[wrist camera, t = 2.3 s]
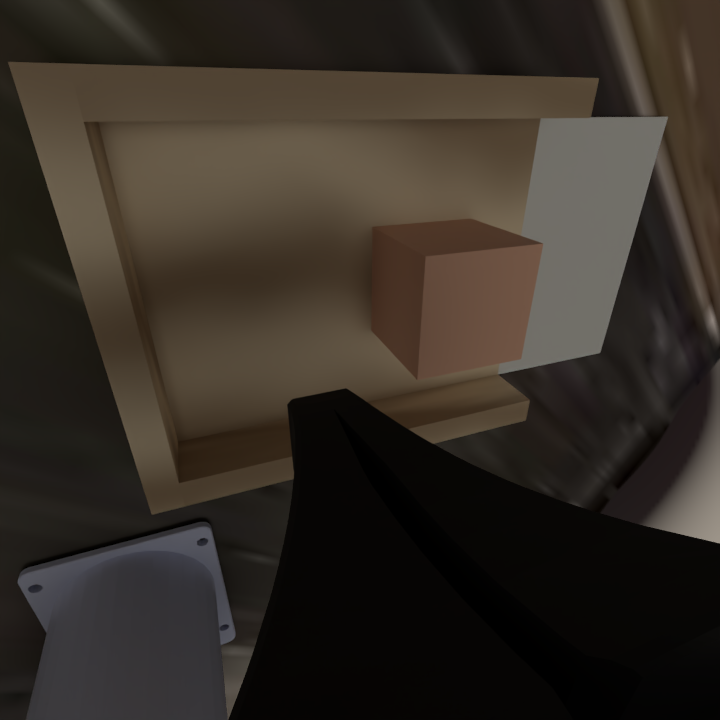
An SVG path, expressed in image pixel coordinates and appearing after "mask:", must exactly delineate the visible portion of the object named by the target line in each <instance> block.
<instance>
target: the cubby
mask: <svg viewBox="0 0 720 720" xmlns="http://www.w3.org/2000/svg"><path fill="white" fill-rule="evenodd" d="M8 63H9V66H10V70H11V73H12V76H13V79H14V82H15V85H16V89H17V92H18V95H19V98H20V101H21V104H22V107H23V111H24V114H25V117H26V120H27V123H28V126H29V129H30V133H31V136H32V139H33V142H34V145H35V148H36V152H37V155H38V158H39V161H40V164H41V167H42V170H43V174H44V177H45V180H46V183H47V186H48V189H49V193H50V196H51V199H52V202H53V205H54V208H55V211H56V215H57V218H58V221H59V224H60V227H61V230H62V233H63V237H64V240H65V243H66V246H67V249H68V252H69V256H70V259H71V262H72V265H73V268H74V271H75V274H76V278H77V281H78V284H79V287H80V290H81V293H82V296H83V300H84V303H85V306H86V309H87V312H88V315H89V319H90V322H91V325H92V328H93V331H94V334H95V337H96V341H97V344H98V347H99V350H100V353H101V356H102V360H103V363H104V366H105V369H106V372H107V375H108V378H109V382H110V385H111V388H112V391H113V394H114V397H115V400H116V404H117V407H118V410H119V413H120V416H121V419H122V423H123V426H124V429H125V432H126V435H127V438H128V441H129V445H130V448H131V451H132V454H133V457H134V460H135V464H136V467H137V470H138V473H139V476H140V479H141V482H142V486H143V489H144V492H145V495H146V498H147V501H148V504H149V508H150V511H151V514H152V515H153V514H157V513H161V512H165V511H169V510H173V509H177V508H181V507H185V506H188V505H192V504H196V503H200V502H204V501H208V500H212V499H216V498H220V497H224V496H228V495H232V494H236V493H240V492H244V491H248V490H252V489H256V488H260V487H264V486H268V485H272V484H275V483H279V482H283V481H287V480H291V479H294V470H293V460H292V450H291V439H290V429H289V419H288V409H287V404H288V403H289V402H290V401H291V400H292V399H294V398H299V397H305V396H310V395H315V394H320V393H325V392H330V391H335V390H340V389H345V388H347V389H348V390H350V391H352V392H353V393H355V394H356V395H358V396H359V397H360V398H362V399H363V400H365V401H366V402H368V403H369V404H371V405H372V406H374V407H375V408H377V409H378V410H380V411H381V412H383V413H384V414H385V415H387V416H389V417H390V418H392V419H393V420H395V421H396V422H398V423H399V424H401V425H402V426H404V427H406V428H407V429H409V430H410V431H412V432H414V433H415V434H417V435H419V436H420V437H422V438H424V439H425V440H427V441H429V442H431V443H432V444H434V443H438V442H442V441H446V440H450V439H453V438H457V437H461V436H465V435H469V434H473V433H477V432H481V431H485V430H489V429H493V428H497V427H501V426H505V425H509V424H513V423H517V422H521V421H525V420H526V416H527V411H528V407H529V402H530V400H529V399H528V398H527V397H525V396H524V395H523V394H522V393H520V392H519V391H518V390H517V389H515V388H514V387H513V386H512V385H510V384H509V383H508V382H507V381H505V380H504V379H503V378H502V377H500V376H499V375H498V370H499V364H495V365H490V366H485V367H480V368H475V369H470V370H465V371H460V372H455V373H450V374H445V375H440V376H435V377H430V378H426V379H421V380H417V379H416V378H415V377H414V376H413V375H412V374H411V373H410V372H409V371H408V370H407V369H406V367H405V366H404V365H403V364H402V363H401V362H400V361H399V360H398V359H397V358H396V357H395V356H394V355H393V353H392V352H391V351H390V350H389V349H388V348H387V347H386V346H385V345H384V344H383V343H382V342H381V340H380V339H379V338H378V337H377V336H376V335H375V334H374V333H373V332H372V331H371V316H372V227H376V226H388V225H400V224H412V223H424V222H435V221H447V220H459V219H474V220H477V221H480V222H483V223H486V224H488V225H491V226H494V227H497V228H500V229H503V230H506V231H509V232H512V233H514V234H517V235H520V236H521V233H522V227H523V221H524V215H525V209H526V203H527V197H528V191H529V185H530V179H531V173H532V167H533V161H534V156H535V150H536V144H537V138H538V132H539V126H540V120H541V118H591V114H592V109H593V104H594V100H595V95H596V90H597V86H598V81H599V78H573V77H537V76H501V75H464V74H428V73H391V72H355V71H318V70H282V69H246V68H209V67H173V66H136V65H100V64H64V63H27V62H8Z"/></svg>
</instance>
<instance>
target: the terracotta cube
mask: <svg viewBox="0 0 720 720" xmlns="http://www.w3.org/2000/svg"><path fill="white" fill-rule="evenodd" d="M542 248H543V243H540V242H538V241H535V240H532V239H529V238H526V237H523V236H520V235H517V234H514V233H512V232H509V231H506V230H503V229H500V228H497V227H494V226H491V225H488V224H486V223H483V222H480V221H477V220H474V219H459V220H447V221H435V222H424V223H412V224H400V225H388V226H376V227H372V316H371V331H372V332H373V333H374V334H375V335H376V336H377V337H378V338H379V339H380V340H381V342H382V343H383V344H384V345H385V346H386V347H387V348H388V349H389V350H390V351H391V352H392V353H393V355H394V356H395V357H396V358H397V359H398V360H399V361H400V362H401V363H402V364H403V365H404V366H405V367H406V369H407V370H408V371H409V372H410V373H411V374H412V375H413V376H414V377H415V378H416V379H417V380H421V379H426V378H430V377H435V376H440V375H445V374H450V373H455V372H460V371H465V370H470V369H475V368H480V367H485V366H490V365H495V364H500V363H505V362H510V361H514V360H519V359H521V357H522V352H523V347H524V342H525V336H526V331H527V326H528V321H529V316H530V311H531V305H532V300H533V295H534V290H535V285H536V280H537V274H538V269H539V264H540V259H541V254H542Z"/></svg>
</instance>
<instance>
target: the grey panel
mask: <svg viewBox="0 0 720 720" xmlns="http://www.w3.org/2000/svg"><path fill="white" fill-rule="evenodd" d="M667 118H668V117H591V118H541V120H540V126H539V132H538V138H537V144H536V150H535V156H534V161H533V167H532V173H531V179H530V185H529V191H528V197H527V203H526V209H525V215H524V221H523V227H522V233H521V236H523V237H526V238H529V239H532V240H535V241H538V242H540V243H543V248H542V254H541V259H540V264H539V269H538V274H537V280H536V285H535V290H534V295H533V300H532V305H531V311H530V316H529V321H528V326H527V331H526V336H525V342H524V347H523V352H522V357H521V359H519V360H514V361H510V362H505V363H500V364H499V370H498V374H502V373H507V372H512V371H517V370H521V369H526V368H531V367H536V366H540V365H545V364H550V363H554V362H559V361H564V360H569V359H573V358H578V357H583V356H588V355H592V354H597V353H600V351H601V348H602V344H603V341H604V337H605V334H606V331H607V327H608V324H609V320H610V317H611V313H612V310H613V306H614V303H615V299H616V296H617V292H618V289H619V285H620V282H621V278H622V275H623V271H624V268H625V264H626V261H627V257H628V254H629V251H630V247H631V244H632V240H633V237H634V233H635V230H636V226H637V223H638V219H639V216H640V212H641V209H642V205H643V202H644V198H645V195H646V191H647V188H648V184H649V181H650V177H651V174H652V171H653V167H654V164H655V160H656V157H657V153H658V150H659V146H660V143H661V139H662V136H663V132H664V129H665V125H666V122H667Z"/></svg>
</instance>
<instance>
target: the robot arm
mask: <svg viewBox="0 0 720 720" xmlns="http://www.w3.org/2000/svg"><path fill="white" fill-rule="evenodd" d="M287 409H288V419H289V429H290V439H291V450H292V460H293V470H294V481H293V491H292V500H291V507H290V513H289V519H288V525H287V530H286V535H285V540H284V545H283V549H282V553H281V558H280V562H279V566H278V570H277V575H276V578H275V582H274V586H273V590H272V593H271V597H270V600H269V603H268V607H267V610H266V613H265V616H264V619H263V623H262V626H261V629H260V632H259V635H258V639H257V642H256V645H255V648H254V652H253V655H252V657H251V660H250V663H249V666H248V669H247V672H246V675H245V677H244V680H243V683H242V685H241V688H240V691H239V693H238V696H237V699H236V701H235V704H234V707H233V709H232V712H231V715H230V717H229V720H720V544H719V543H715V542H711V541H706V540H702V539H698V538H694V537H689V536H685V535H681V534H676V533H672V532H668V531H664V530H659V529H655V528H651V527H646V526H643V525H639V524H635V523H631V522H628V521H625V520H621V519H618V518H614V517H611V516H607V515H604V514H601V513H597V512H594V511H590V510H587V509H584V508H581V507H578V506H575V505H572V504H569V503H566V502H563V501H560V500H557V499H555V498H552V497H549V496H546V495H544V494H541V493H538V492H536V491H533V490H530V489H527V488H525V487H522V486H520V485H517V484H515V483H512V482H510V481H507V480H505V479H503V478H501V477H498V476H496V475H494V474H492V473H490V472H487V471H485V470H483V469H481V468H479V467H476V466H474V465H472V464H470V463H468V462H466V461H464V460H462V459H460V458H458V457H456V456H454V455H452V454H451V453H449V452H447V451H445V450H443V449H441V448H440V447H438V446H436V445H434V444H432V443H431V442H429V441H427V440H425V439H424V438H422V437H420V436H419V435H417V434H415V433H414V432H412V431H410V430H409V429H407V428H406V427H404V426H402V425H401V424H399V423H398V422H396V421H395V420H393V419H392V418H390V417H389V416H387V415H385V414H384V413H383V412H381V411H380V410H378V409H377V408H375V407H374V406H372V405H371V404H369V403H368V402H366V401H365V400H363V399H362V398H360V397H359V396H358V395H356V394H355V393H353V392H352V391H350V390H348V389H347V388H345V389H340V390H335V391H330V392H325V393H320V394H315V395H310V396H305V397H299V398H294V399H292V400H291V401H290V402H289V403H288V404H287ZM201 538H205V539H203V540H199V539H201ZM36 584H37V585H36ZM18 585H19V587H20V588H21V590H22V592H23V594H24V595H25V597H26V599H27V600H28V602H29V604H30V606H31V607H32V609H33V611H34V613H35V614H36V616H37V618H38V619H39V621H40V623H41V625H42V626H43V628H44V630H45V632H46V633H47V634H46V638H45V642H44V646H43V651H42V655H41V659H40V663H39V667H38V671H37V675H36V680H35V684H34V688H33V692H32V696H31V700H30V704H29V709H28V713H27V717H26V720H228V719H227V708H226V697H225V686H224V675H223V665H222V654H221V645H222V644H225V643H228V642H230V641H232V640H233V639H234V638H235V635H236V633H235V627H234V623H233V618H232V614H231V610H230V605H229V601H228V597H227V592H226V588H225V584H224V579H223V575H222V571H221V567H220V562H219V558H218V554H217V549H216V545H215V541H214V536H213V532H212V528H211V525H210V524H209V523H207V522H198V523H194V524H190V525H186V526H183V527H179V528H175V529H171V530H167V531H164V532H160V533H156V534H152V535H149V536H145V537H141V538H137V539H134V540H130V541H126V542H122V543H118V544H115V545H111V546H107V547H103V548H100V549H96V550H92V551H88V552H85V553H81V554H77V555H73V556H69V557H66V558H62V559H58V560H54V561H51V562H47V563H43V564H39V565H36V566H32V567H28V568H26V569H24V570H23V571H21V573H20V575H19V578H18Z"/></svg>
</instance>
